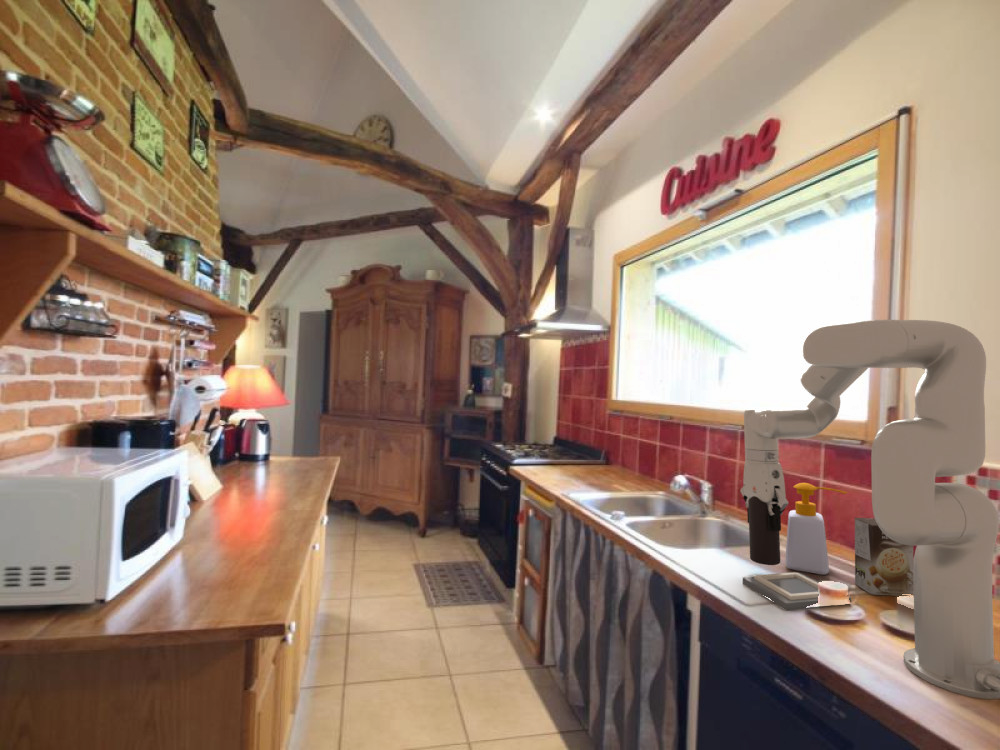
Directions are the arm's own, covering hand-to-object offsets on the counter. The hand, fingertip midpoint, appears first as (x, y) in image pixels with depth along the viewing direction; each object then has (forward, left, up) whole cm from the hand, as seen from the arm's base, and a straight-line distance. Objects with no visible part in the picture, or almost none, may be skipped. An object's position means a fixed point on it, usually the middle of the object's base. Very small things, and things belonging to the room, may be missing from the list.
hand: (763, 526), depth 121 cm
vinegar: (0, 0, -9) cm, 9 cm away
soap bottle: (+1, -16, -12) cm, 20 cm away
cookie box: (-13, -21, -12) cm, 28 cm away
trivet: (-11, +1, -12) cm, 16 cm away
